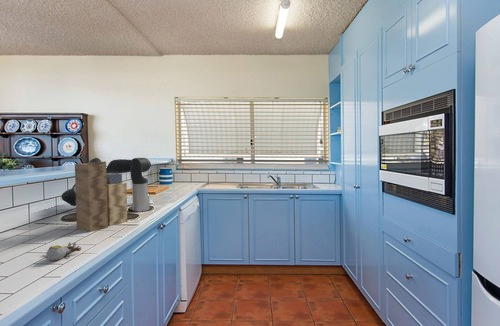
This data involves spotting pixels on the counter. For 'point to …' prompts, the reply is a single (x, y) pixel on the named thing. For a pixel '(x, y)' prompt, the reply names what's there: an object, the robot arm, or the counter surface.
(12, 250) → the counter surface
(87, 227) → the stand
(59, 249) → the toy
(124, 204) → the tan wooden block
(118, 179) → the bar
